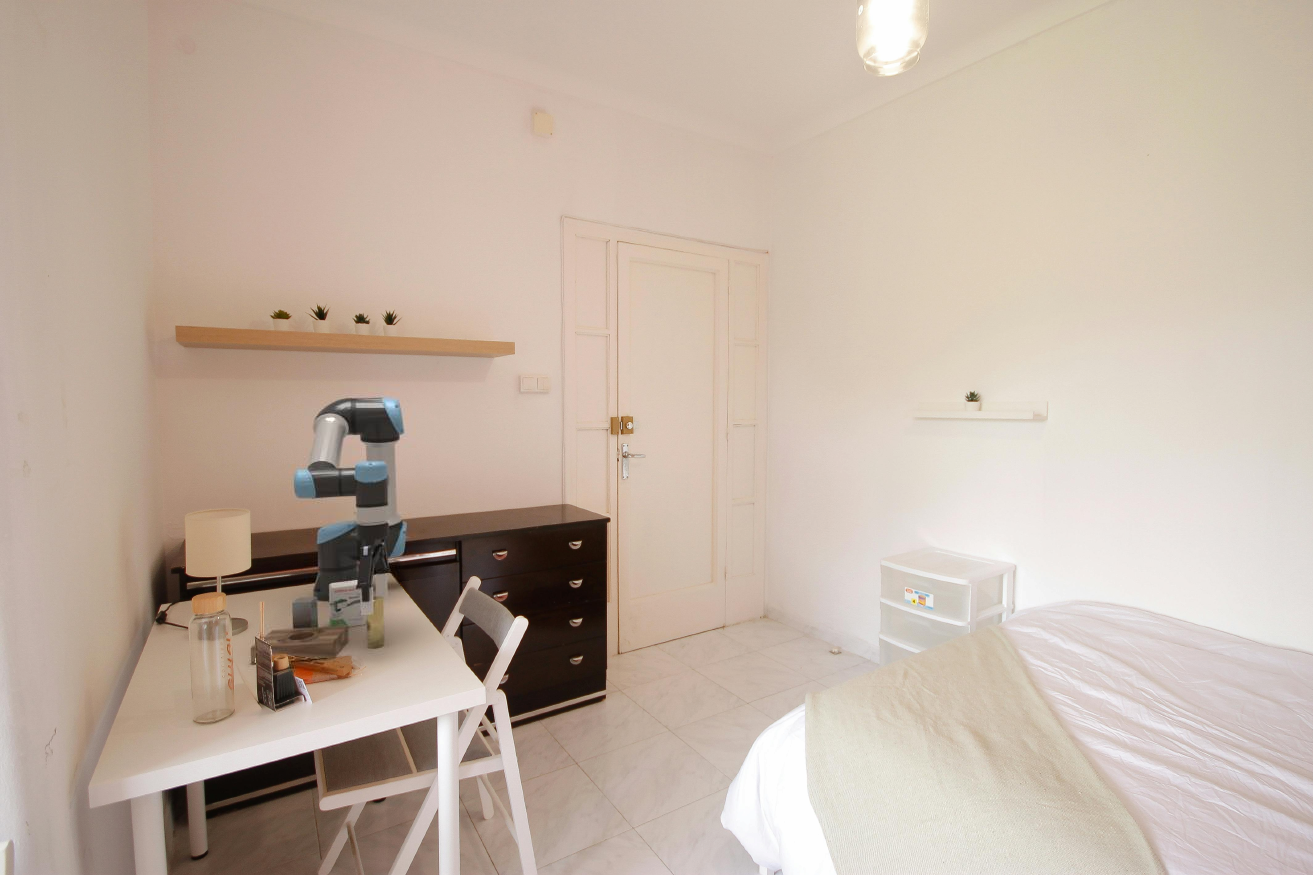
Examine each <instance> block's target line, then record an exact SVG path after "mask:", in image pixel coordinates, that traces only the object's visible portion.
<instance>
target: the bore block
mask: <svg viewBox="0 0 1313 875" xmlns="http://www.w3.org/2000/svg"><path fill="white" fill-rule="evenodd" d="M262 638H264V639H265V640H266V642H267V643H269V644H270V646H271V649H272V654H273V655H276V654H287V655H291V656H301V657H308V658H316V657H317V658H327V659H326V660H330V659H331V660H332V659H333V660H334V658H335V657H336V656H337V654H338V653H339V652H340V651H341V650H342V649H343V647H345V645H346V644H347V643H348V642H349V641H350V640H349V638H350V637H349V627H348V625H346V626H330V625H329V626H318V627H314V628H299V629H293V628H286V629H284V628H283V629H273V630H271V631H270V632H269V633H267V634H266V635H264V636H263V637H262ZM255 658H256V646H255V644H254V645H252V646H250V664H251V665H256V664H255Z"/></svg>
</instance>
